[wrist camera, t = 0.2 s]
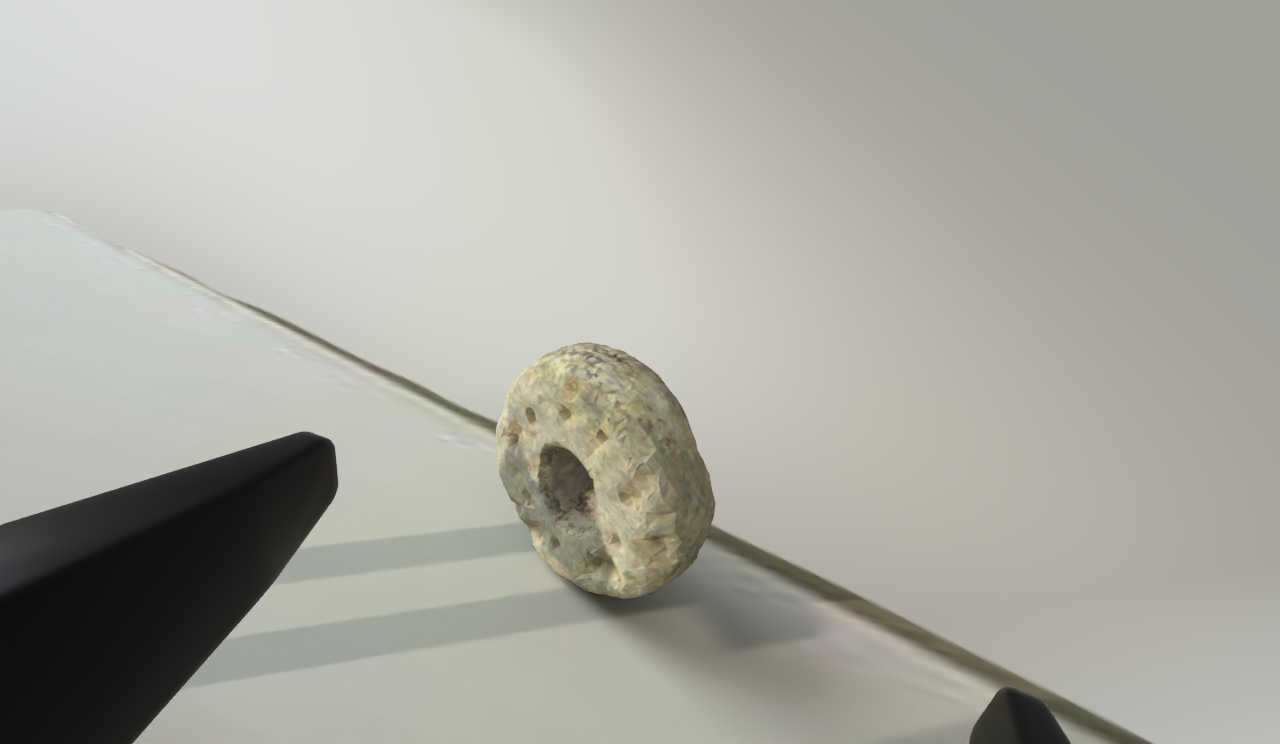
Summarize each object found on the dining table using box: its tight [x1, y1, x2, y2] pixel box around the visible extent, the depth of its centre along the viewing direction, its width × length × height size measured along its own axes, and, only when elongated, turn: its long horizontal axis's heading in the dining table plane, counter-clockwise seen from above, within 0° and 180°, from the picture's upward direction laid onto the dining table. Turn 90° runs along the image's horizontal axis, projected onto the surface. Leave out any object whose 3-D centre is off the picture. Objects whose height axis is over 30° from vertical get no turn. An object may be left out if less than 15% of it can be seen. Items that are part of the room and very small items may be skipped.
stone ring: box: [496, 343, 715, 598], centre depth 29 cm, size 10×4×10 cm, turn 43°
